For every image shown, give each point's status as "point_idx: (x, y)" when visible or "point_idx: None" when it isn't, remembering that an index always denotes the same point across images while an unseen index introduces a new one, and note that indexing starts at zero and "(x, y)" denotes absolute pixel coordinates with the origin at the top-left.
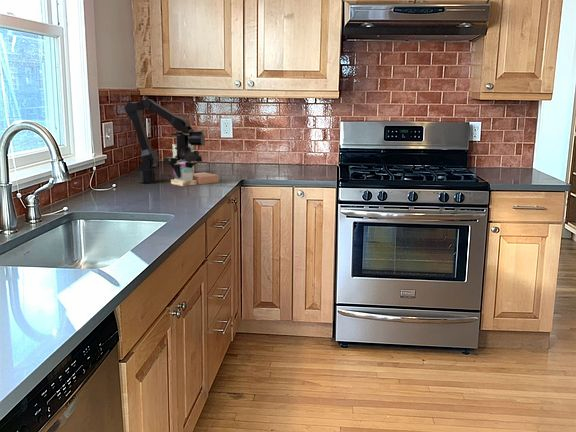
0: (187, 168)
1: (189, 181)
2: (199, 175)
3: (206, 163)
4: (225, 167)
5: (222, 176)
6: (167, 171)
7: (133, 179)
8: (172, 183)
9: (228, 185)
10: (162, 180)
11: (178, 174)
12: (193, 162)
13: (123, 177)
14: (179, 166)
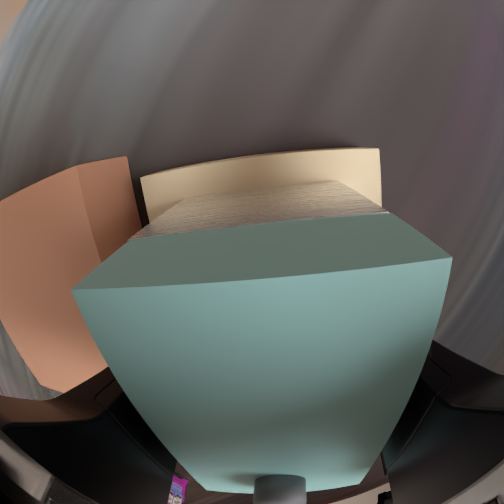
0: (258, 292)
1: (258, 155)
2: (62, 298)
3: None
4: None
5: (3, 348)
6: (187, 497)
7: (382, 468)
8: None
9: (15, 39)
10: None
11: None
12: (8, 448)
13: (370, 486)
14: (488, 399)
